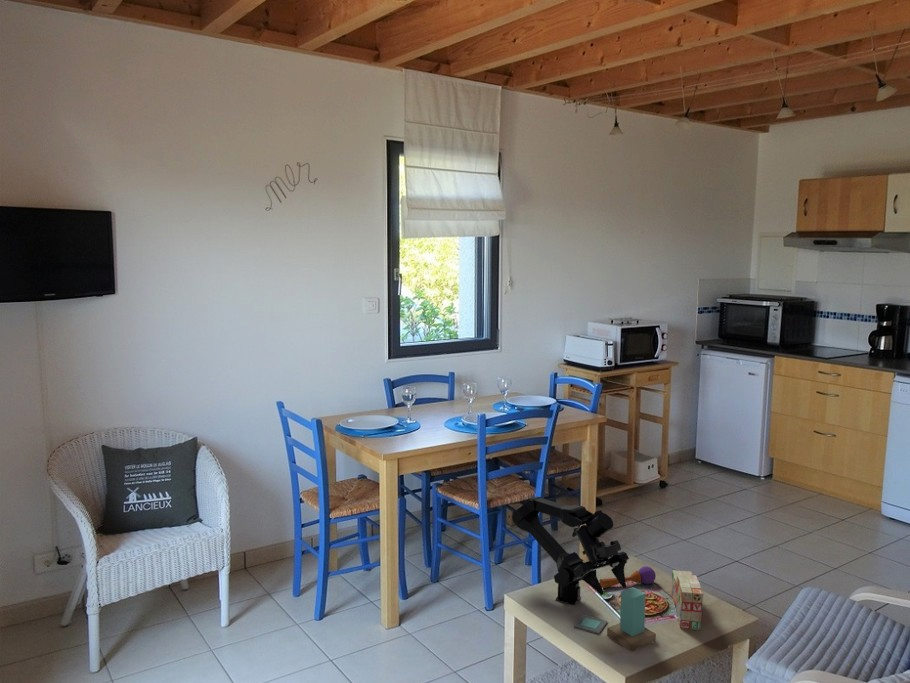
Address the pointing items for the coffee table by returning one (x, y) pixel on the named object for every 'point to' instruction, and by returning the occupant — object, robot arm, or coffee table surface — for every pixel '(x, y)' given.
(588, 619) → the slate tile
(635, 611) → the teal pillar
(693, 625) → the stack of blocks
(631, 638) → the walnut slab
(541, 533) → the robot arm
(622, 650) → the coffee table surface
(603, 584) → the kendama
